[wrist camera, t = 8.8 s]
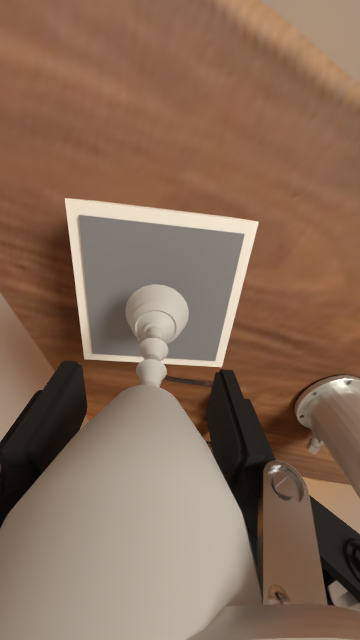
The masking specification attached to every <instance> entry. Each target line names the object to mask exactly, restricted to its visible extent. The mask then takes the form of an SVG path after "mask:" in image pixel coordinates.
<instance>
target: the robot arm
mask: <svg viewBox="0 0 360 640" xmlns="http://www.w3.org/2000/svg"><path fill="white" fill-rule="evenodd" d="M86 412H87V400H86V392H85V385H84V377H83V369H82V365H78V362H76V361H63V362H62V363H61V364H60V366H59V367H58V369H57V370H56V371H55V373H54V374H53V376H52V377H51V379H50V380H49V382H48V383H47V385H46V386H45V388H44V389H43V390H39V391H37V392H36V393H35V394H34V396H33V397H32V398H31V400H30V401H29V403H28V404H27V406H26V407H25V408H24V410H23V411H22V413H21V414H20V415H19V417H18V418H17V419H16V421H15V422H14V424H13V425H12V427H11V428H10V429H9V431H8V432H7V433H6V435H5V436H4V438H3V439H2V440H1V442H0V528H1V526H2V524H3V522H4V520H5V518H6V516H7V515H8V513H9V512H10V511H11V510H12V509H13V507H14V506H15V505H16V504H17V503H18V501H19V500H20V499H21V498H22V497H23V496H24V494H25V493H26V492H27V491H28V490H29V488H30V487H31V486H32V485H33V484H34V483H35V481H36V480H37V479H38V478H39V477H40V476H41V474H42V473H43V472H44V471H45V470H46V468H47V467H48V466H49V465H50V464H51V463H52V461H53V460H54V459H55V458H56V457H57V456H58V454H59V453H60V452H61V451H62V450H63V448H64V447H65V446H66V445H67V444H68V443H69V441H70V440H71V439H72V438H73V437H74V436H75V435H76V434H77V433H78V431H79V430H80V427H81V425H82V422H83V420H84V417H85V415H86ZM294 412H295V415H296V417H297V419H298V421H299V422H300V423H301V424H302V425H303V426H305V427H307V428H310V429H311V431H312V433H311V436H312V438H311V439H310V440H309V442H308V444H307V445H306V448H307V449H308V451H309V452H310V453H312V454H317V453H318V452H319V450H320V449H321V446H322V445H324V446H325V447H326V448H327V449H328V450H329V452H330V454H331V455H332V457H333V458H334V460H335V461H336V463H337V464H338V466H339V467H340V469H341V470H342V472H343V473H344V475H345V476H346V478H347V480H348V481H349V483H350V484H351V486H352V487H353V489H354V490H355V492H356V493H357V495H358V496H359V498H360V379H359V378H358V377H354V376H348V375H341V376H333V377H329V378H326V379H323V380H321V381H319V382H317V383H315V384H313V385H312V386H310V387H309V388H307V389H306V390H305V391H304V392H303V393H302V394H301V395H300V397H299V398H298V400H297V401H296V404H295V409H294ZM207 422H208V428H209V433H210V439H211V445H212V450H213V456H214V458H215V460H216V462H217V464H218V466H219V468H220V470H221V472H222V474H223V476H224V478H225V480H226V482H227V484H228V486H229V488H230V490H231V492H232V494H233V496H234V498H235V500H236V502H237V504H238V506H239V508H240V510H241V512H242V515H243V518H244V521H245V524H246V527H247V531H248V535H249V539H250V543H251V547H252V551H253V555H254V560H255V564H256V568H257V575H258V579H259V585H260V590H261V595H262V600H263V605H240V606H225V607H224V608H223V609H222V610H221V611H220V612H219V613H218V615H217V616H216V617H215V618H214V619H213V620H212V621H211V622H210V624H209V625H208V626H207V627H206V629H205V630H203V631H202V632H200V633H198V634H196V635H194V636H192V637H191V638H189V639H187V640H360V534H359V533H357V532H356V531H355V530H353V529H352V528H351V527H350V526H348V525H347V524H346V523H344V522H343V521H342V520H340V519H339V518H338V517H337V516H336V515H334V514H333V513H332V512H330V511H329V510H328V509H327V508H325V507H324V506H323V505H322V504H320V503H319V502H318V501H316V500H315V499H314V498H313V497H311V496H310V495H309V491H308V488H307V485H306V483H305V481H304V479H303V477H302V476H301V475H300V474H299V473H298V471H297V470H295V469H294V468H293V467H292V466H291V465H289V464H287V463H285V462H282V461H278V460H275V458H274V456H273V453H272V451H271V448H270V446H269V444H268V441H267V439H266V436H265V434H264V432H263V429H262V427H261V425H260V422H259V420H258V417H257V415H256V413H255V410H254V408H253V405H252V403H251V401H250V400H249V399H244V397H243V395H242V392H241V390H240V387H239V385H238V382H237V379H236V377H235V374H234V372H233V370H222V369H221V370H220V372H216V374H215V378H214V382H213V386H212V391H211V395H210V399H209V403H208V407H207Z"/></svg>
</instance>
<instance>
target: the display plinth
mask: <svg viewBox="0 0 360 640" xmlns="http://www.w3.org/2000/svg"><path fill="white" fill-rule="evenodd" d="M65 203H66V212H67V220H68V228H69V237H70V245H71V253H72V261H73V270H74V278H75V286H76V294H77V303H78V311H79V319H80V327H81V336H82V344H83V352H84V359H90V360H108V361H125V362H141V361H143V360H144V358H143V357H142V356H141V354H140V352H139V346H140V344H141V342H142V341H140V340H139V339H138V338H137V337H136V336H135V335H134V333H133V331H132V329H131V327H130V326H129V323H128V321H127V319H126V305H127V302H128V300H129V298H130V297H131V296H132V294H133V293H134V292H135V291H137V290H138V289H140V288H142V287H144V286H148V285H152V284H156V285H165V286H168V287H170V288H173V289H174V290H176V291H177V292H178V293H180V294H181V295H182V297H183V298H184V300H185V301H186V303H187V306H188V310H189V315H188V321H187V324H186V326H185V328H184V329H183V330H182V331H181V333H180V334H179V335H178V336H177V338H176V339H175V340H174V341H172V342H170V343H169V344H166V345H167V347H168V354H167V356H166V357H165V359H163V360H161V363H163V364H177V365H195V366H212V367H222V364H223V360H224V356H225V353H226V349H227V345H228V341H229V337H230V333H231V329H232V325H233V321H234V317H235V313H236V309H237V305H238V301H239V297H240V293H241V290H242V286H243V282H244V278H245V274H246V270H247V266H248V262H249V258H250V254H251V250H252V246H253V242H254V238H255V234H256V230H257V227H258V223H259V222H257V221H251V220H245V219H239V218H233V217H225V216H217V215H208V214H200V213H192V212H184V211H176V210H167V209H159V208H151V207H143V206H135V205H126V204H118V203H110V202H102V201H93V200H81V199H68V198H65Z"/></svg>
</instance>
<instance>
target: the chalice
mask: <svg viewBox="0 0 360 640" xmlns="http://www.w3.org/2000/svg"><path fill="white" fill-rule="evenodd" d="M188 315H189V310H188V306H187V303H186V301H185V300H184V298H183V297H182V295H181V294H180V293H178V292H177V291H176V290H174V289H173V288H170V287H168V286H165V285H156V284H152V285H148V286H144V287H142V288H140V289H138V290H137V291H135V292H134V293H133V294H132V296H131V297H130V298H129V300H128V302H127V305H126V319H127V321H128V323H129V326H130V327H131V329H132V331H133V333H134V335H135V336H136V337H137V338H138V339H139V340H140V341H142V342H141V344H140V346H139V352H140V354H141V356H142V357H143V358H144V360H143V361H141V362H140V363H139V364H138V365H137V367H136V373H137V375H138V377H139V378H140V384H141V385H140V386H135V387H130V388H128V389H126V390H124V391H122V392H121V393H120V394H119V395H118V396H117V397H116V398H115V399H113V400H112V401H111V402H110V403H109V404H108V405H107V406H106V407H105V408H104V409H102V410H101V411H100V412H99V413H98V414H97V415H96V416H95V417H94V418H93V419H91V420H90V421H89V422H88V423H87V424H86V425H85V426H84V427H83V428H82V429H80V430H79V431H78V433H77V434H76V435H75V436H74V437H73V438H72V439H71V440H70V441H69V443H68V444H67V445H66V446H65V447H64V448H63V450H62V451H61V452H60V453H59V454H58V456H57V457H56V458H55V459H54V460H53V461H52V463H51V464H50V465H49V466H48V467H47V468H46V470H45V471H44V472H43V473H42V474H41V476H40V477H39V478H38V479H37V480H36V481H35V483H34V484H33V485H32V486H31V487H30V488H29V490H28V491H27V492H26V493H25V494H24V496H23V497H22V498H21V499H20V500H19V501H18V503H17V504H16V505H15V506H14V507H13V509H12V510H11V511H10V512H9V513H8V515H7V516H6V518H5V520H4V522H3V524H2V526H1V528H0V640H187V639H189V638H191V637H192V636H194V635H196V634H198V633H200V632H202V631H203V630H205V629H206V627H207V626H208V625H209V624H210V622H211V621H212V620H213V619H214V618H215V617H216V616H217V615H218V613H219V612H220V611H221V610H222V609H223V608H224V607H225V606H240V605H263V600H262V595H261V590H260V585H259V579H258V575H257V568H256V564H255V560H254V555H253V551H252V547H251V543H250V539H249V535H248V531H247V527H246V524H245V521H244V518H243V515H242V512H241V510H240V508H239V506H238V504H237V502H236V500H235V498H234V496H233V494H232V492H231V490H230V488H229V486H228V484H227V482H226V480H225V478H224V476H223V474H222V472H221V470H220V468H219V466H218V464H217V462H216V460H215V458H214V456H213V455H212V453H211V451H210V449H209V447H208V445H207V443H206V442H205V440H204V439H203V437H202V436H201V435H200V433H199V432H198V430H197V429H196V427H195V426H194V424H193V423H192V421H191V420H190V418H189V417H188V415H187V414H186V412H185V411H184V410H183V408H182V407H181V405H180V404H179V402H178V401H177V399H176V398H175V397H174V396H173V395H172V394H171V393H169V392H167V391H166V390H164V389H162V388H159V387H160V384H161V380H163V379H164V378H165V376H166V374H167V370H166V367H165V366H164V364H163V363H161V360H163V359H165V357H166V356H167V354H168V347H167V345H166V344H169V343H170V342H172V341H174V340H175V339H176V338H177V336H178V335H179V334H180V333H181V331H182V330H183V329H184V328H185V326H186V324H187V321H188Z"/></svg>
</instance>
